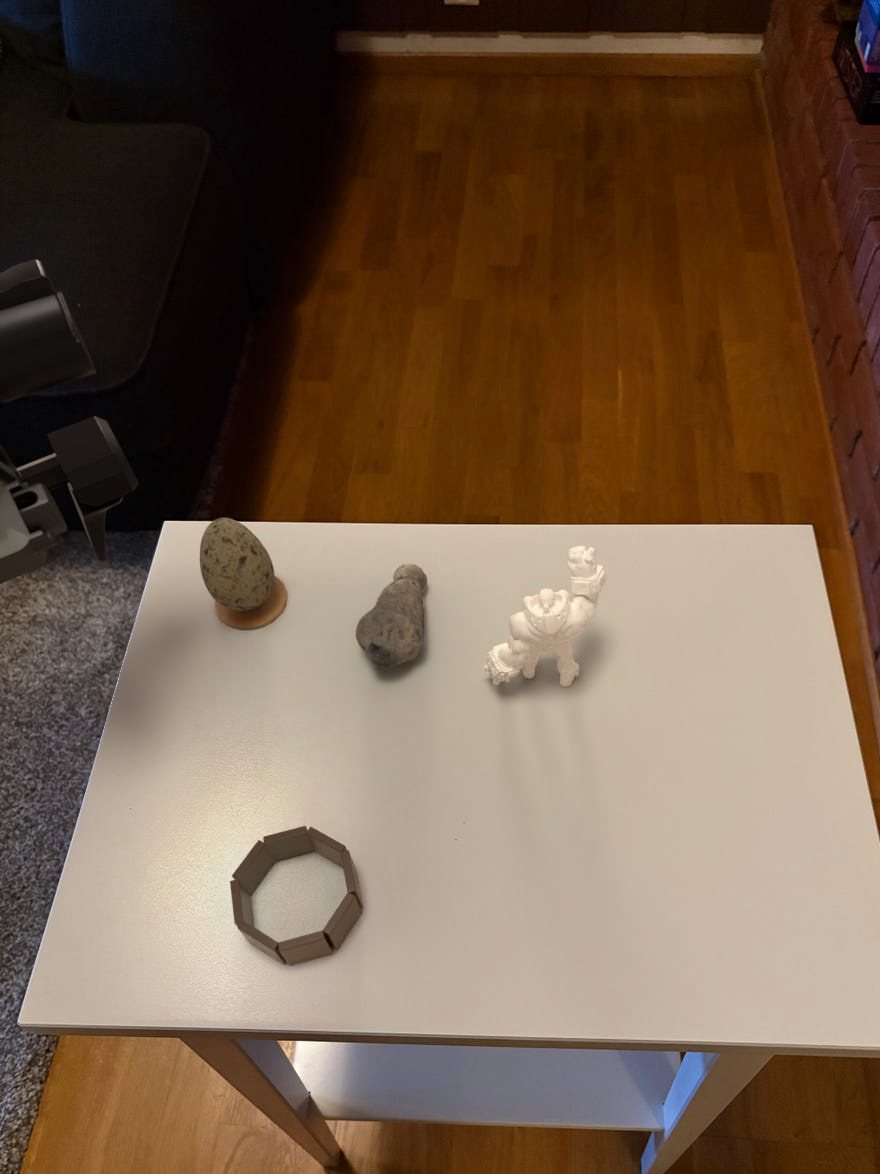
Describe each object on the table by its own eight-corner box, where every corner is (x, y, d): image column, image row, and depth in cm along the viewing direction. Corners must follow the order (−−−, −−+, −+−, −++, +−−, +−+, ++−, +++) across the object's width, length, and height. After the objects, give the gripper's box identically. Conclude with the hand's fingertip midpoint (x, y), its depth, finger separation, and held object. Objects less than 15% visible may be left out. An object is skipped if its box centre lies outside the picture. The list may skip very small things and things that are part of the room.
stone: (402, 581, 83) (331, 569, 77) (440, 555, 80) (369, 540, 74) (423, 681, 80) (351, 676, 74) (464, 659, 76) (392, 651, 71)
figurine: (581, 625, 78) (591, 533, 69) (615, 667, 76) (630, 577, 66) (479, 676, 76) (474, 587, 66) (511, 721, 73) (510, 636, 63)
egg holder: (251, 976, 62) (238, 962, 59) (238, 864, 67) (225, 846, 64) (370, 943, 63) (363, 927, 60) (349, 835, 68) (341, 816, 65)
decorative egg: (209, 625, 79) (174, 551, 71) (223, 573, 83) (191, 496, 74) (276, 626, 79) (248, 552, 71) (287, 574, 82) (262, 497, 74)
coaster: (219, 637, 79) (218, 634, 79) (213, 582, 83) (211, 579, 82) (291, 620, 80) (290, 617, 79) (282, 567, 83) (281, 564, 83)
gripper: (-228, 575, 47) (-65, 723, 60) (117, 438, 52) (199, 602, 64) (-249, 450, 52) (-96, 610, 65) (64, 337, 57) (149, 506, 70)
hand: (41, 583), depth 66 cm, fingers open, 9 cm apart
